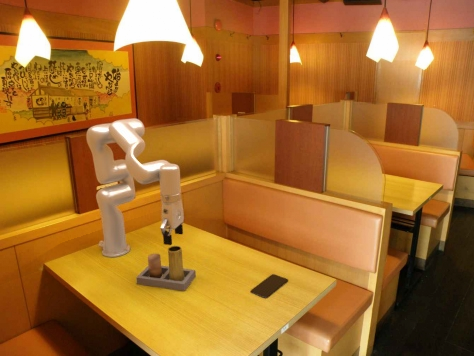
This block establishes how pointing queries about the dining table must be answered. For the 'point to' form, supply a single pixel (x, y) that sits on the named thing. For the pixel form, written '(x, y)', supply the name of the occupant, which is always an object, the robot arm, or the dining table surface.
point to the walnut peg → (154, 266)
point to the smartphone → (269, 286)
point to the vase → (175, 263)
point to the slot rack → (166, 279)
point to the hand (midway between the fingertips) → (173, 239)
